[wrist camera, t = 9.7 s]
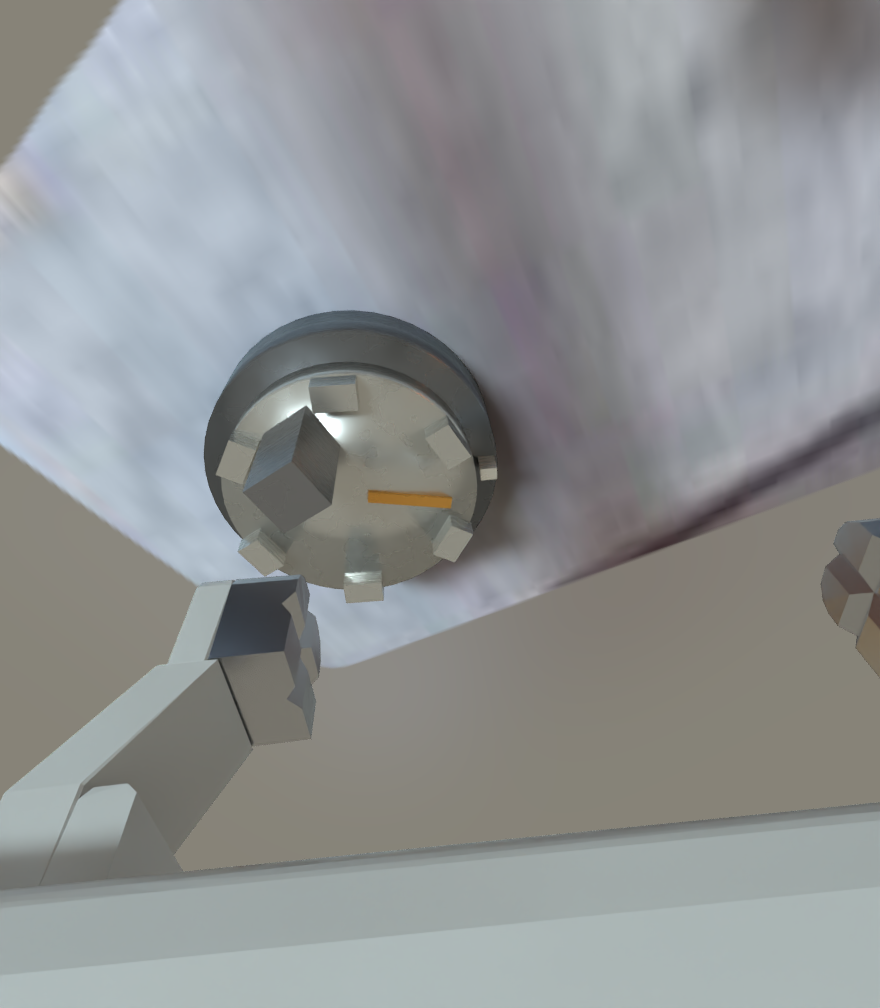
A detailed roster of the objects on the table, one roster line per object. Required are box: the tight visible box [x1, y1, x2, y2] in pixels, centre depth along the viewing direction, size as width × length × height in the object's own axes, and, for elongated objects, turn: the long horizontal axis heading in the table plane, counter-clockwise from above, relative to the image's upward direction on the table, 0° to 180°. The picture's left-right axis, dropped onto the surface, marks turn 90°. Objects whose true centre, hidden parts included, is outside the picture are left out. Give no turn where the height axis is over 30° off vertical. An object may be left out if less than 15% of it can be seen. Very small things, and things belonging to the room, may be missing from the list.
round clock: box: [216, 362, 477, 603], centre depth 37 cm, size 15×15×8 cm
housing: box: [204, 311, 497, 559], centre depth 41 cm, size 18×18×6 cm
